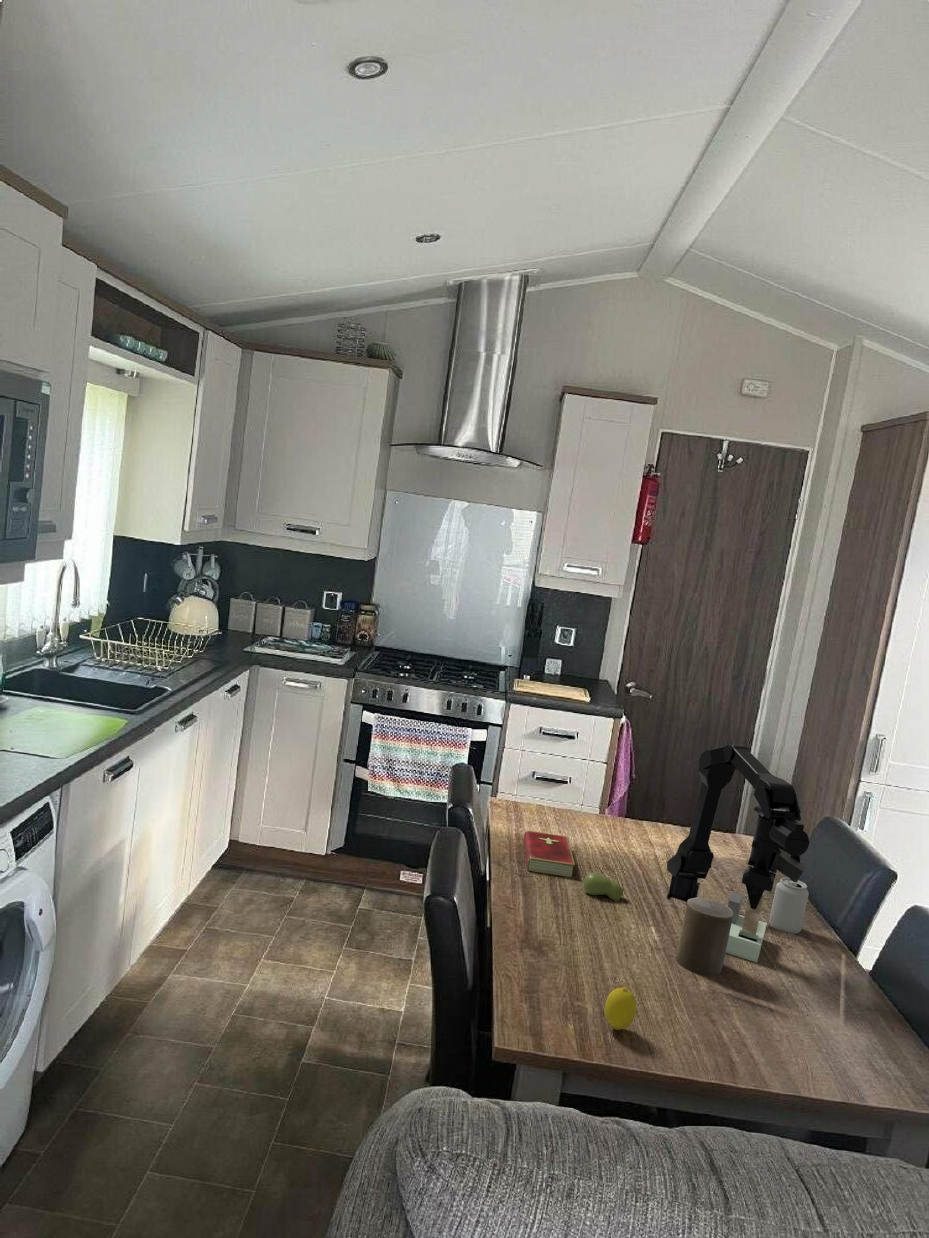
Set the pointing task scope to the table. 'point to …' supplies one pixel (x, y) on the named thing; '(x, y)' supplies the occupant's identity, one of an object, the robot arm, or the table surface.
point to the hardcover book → (548, 853)
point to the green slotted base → (738, 923)
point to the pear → (602, 886)
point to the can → (789, 906)
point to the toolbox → (743, 949)
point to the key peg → (752, 917)
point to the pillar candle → (704, 936)
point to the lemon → (620, 1008)
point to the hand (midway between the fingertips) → (754, 906)
